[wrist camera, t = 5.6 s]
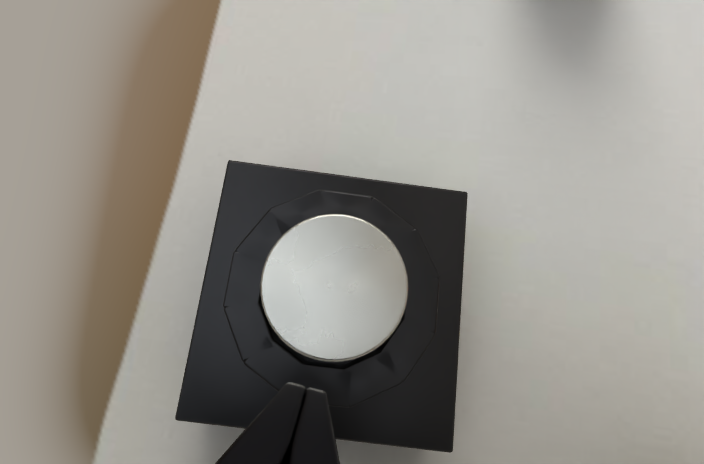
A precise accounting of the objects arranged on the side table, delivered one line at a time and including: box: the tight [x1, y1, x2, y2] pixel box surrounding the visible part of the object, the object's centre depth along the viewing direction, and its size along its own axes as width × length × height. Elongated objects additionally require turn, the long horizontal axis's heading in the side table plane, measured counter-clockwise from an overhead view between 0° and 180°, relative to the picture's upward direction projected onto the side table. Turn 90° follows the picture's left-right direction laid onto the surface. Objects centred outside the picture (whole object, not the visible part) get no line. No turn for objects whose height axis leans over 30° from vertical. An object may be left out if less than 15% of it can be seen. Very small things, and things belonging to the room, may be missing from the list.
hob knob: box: [260, 214, 408, 362], centre depth 14 cm, size 4×4×3 cm
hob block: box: [175, 160, 467, 452], centre depth 18 cm, size 10×10×6 cm
